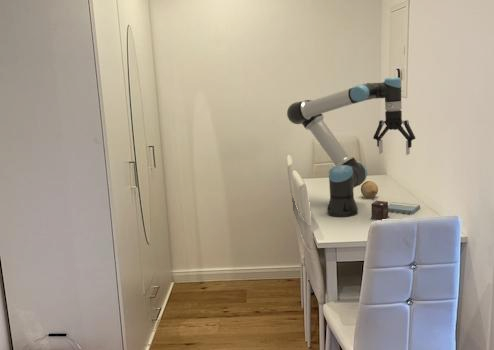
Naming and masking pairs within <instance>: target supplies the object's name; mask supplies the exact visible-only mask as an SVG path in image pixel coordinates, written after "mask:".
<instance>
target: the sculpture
mask: <svg viewBox="0 0 494 350" xmlns="http://www.w3.org/2000/svg"><path fill="white" fill-rule="evenodd" d="M360 192H361V194H362V196H363V197H364V198H368V199H371V198H374V197H376V196H377V195H378V193H379V187H378V185H377V183H376V182H375V181H370V180H368V181H364V182H363V183H362V184H361V185H360Z"/></svg>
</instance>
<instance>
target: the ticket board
mask: <svg viewBox="0 0 494 350" xmlns="http://www.w3.org/2000/svg"><path fill="white" fill-rule="evenodd" d="M420 209H421V205H420V204H415V203H413V204H412V203H404V202H391V203H388V213H392V214H393V213H395V214H398V213H399V214H401V213H402V214H401V215H408V214H409V215H408V216H411V215H412V214H413V215H414V214H416V212H418V211H420ZM410 214H411V215H410Z"/></svg>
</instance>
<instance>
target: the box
mask: <svg viewBox="0 0 494 350" xmlns="http://www.w3.org/2000/svg"><path fill="white" fill-rule="evenodd" d="M388 205H389V203H388V201H384V200H382V201H381V200H376V201H373V202H371V206H370V207H371V218H374V219H385V218H386V217H388V216H389V212H388ZM374 219H373V220H374Z"/></svg>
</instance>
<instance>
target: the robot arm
mask: <svg viewBox="0 0 494 350" xmlns="http://www.w3.org/2000/svg"><path fill="white" fill-rule="evenodd" d="M373 99H384V105H385V106H384V109H385V111H384V113H385V114H384V116H385V120H383V119H381V120H379V121H378V126H377V128H376V131H375V132H374V135H373V138H372V139H373V140H375V141H376V147H377V148H378V155H380V154H383V153H384V152H383V151H384V149H383V148H384V147H383V145H384V144H383V138H384V136H385V135H386V134H387V132H388V131H389V130H395V131H398V132H400V133H401V134H402V136H403V137H404V138H405V139H406V141H405V155H406V156H409V155H410V153H411V151H410V148H412V141H413V140H416V136H415V134H414V132H413V129H412V128H411V126H410V122H409V119H406V120H403V119H402V118H403V117H402V113H403V111H402V80H401V78H400V77H386V78H384V81H383V82H367V83H362V84H357V85H355V86H353V87H351V88H347V89H344V90H341V91H337V92H334V93H332V94H328V95H326V96H322V97H320V98H316V99H305V100H303V101H296V102H293V103H291V104H290V105H289V106H288V108H287V112H286V115H287V116H286V117H287V119H288V120H289V121H290V123H292V124H295V125H302V126H303V127H304V128H305V130H308V131H310V132H311V134H312V135H313V136H314V138H315V139H316V140H317V142H318V143H319V145H320V146H321V148H322V149H323V150H324V151H325V153H326V154H327V156H328V157H329V158H330V160H331V161H332V163H333V164H334V166H333V167H331V168H330V169H329V172H328V179H329V180H328V181H329V182H328V183H329V201H328V205H327V208H326V211H327V215H329V216H331V215H332V217H336V218H337V217H339V218H344V217H353V216H355V215H357V214H358V213H359V211H358V210H359V209H358V205H357V203H356V200H355V198H354V197H355V196H354V188H356V187H358V186H361V185H363V183H365V182H366V179H367V177H368V171H367V168H366V166H365V165H364V164H363V163H362V162H359V161H357V160H356V159H355V157H354V156H350V155H349V154H348V153H347V151H346V150H345V149H344V147H343V145H341V143H340V141H338V139H337V138H336V136H335V135H334V133H333V132H332V131H331V129H330V127H328V125H327V124H326V122H325V121H324V113H328V112H331V111H335V110H338V109H341V108H344V107H347V106H351V105H354V104H358V103H360V102H365V101H368V100H373ZM384 125H385V127H384V129H383V130H382V128H383V126H384ZM402 125H403V126H404V127H405V129H404V127H403V126H402ZM381 131H382V132H381ZM380 132H381V133H380Z"/></svg>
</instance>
